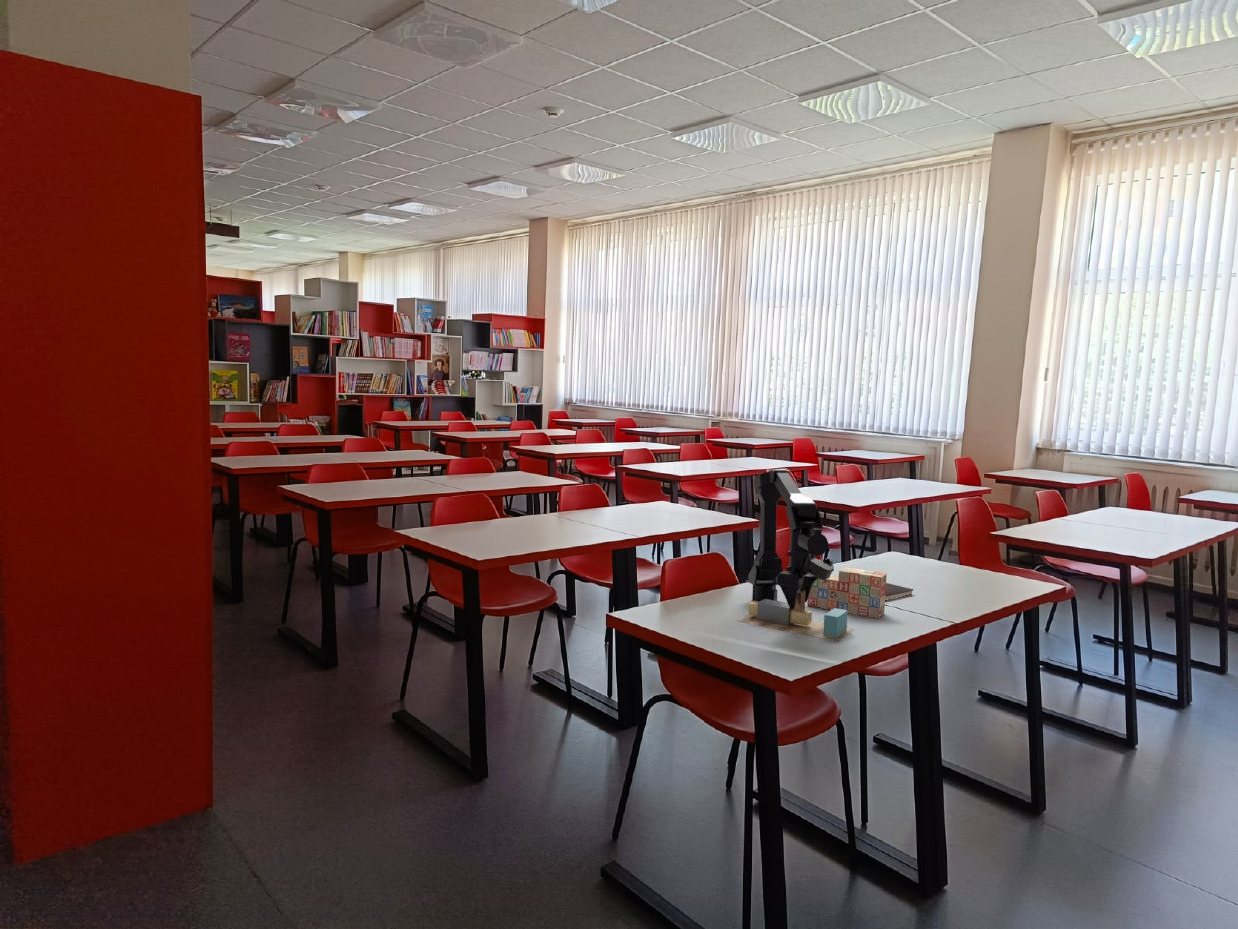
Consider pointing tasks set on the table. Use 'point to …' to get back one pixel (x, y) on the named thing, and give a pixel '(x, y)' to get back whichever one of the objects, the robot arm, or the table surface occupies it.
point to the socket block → (835, 622)
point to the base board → (797, 628)
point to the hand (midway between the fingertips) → (798, 605)
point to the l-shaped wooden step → (791, 610)
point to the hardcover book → (896, 591)
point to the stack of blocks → (851, 592)
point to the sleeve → (773, 612)
